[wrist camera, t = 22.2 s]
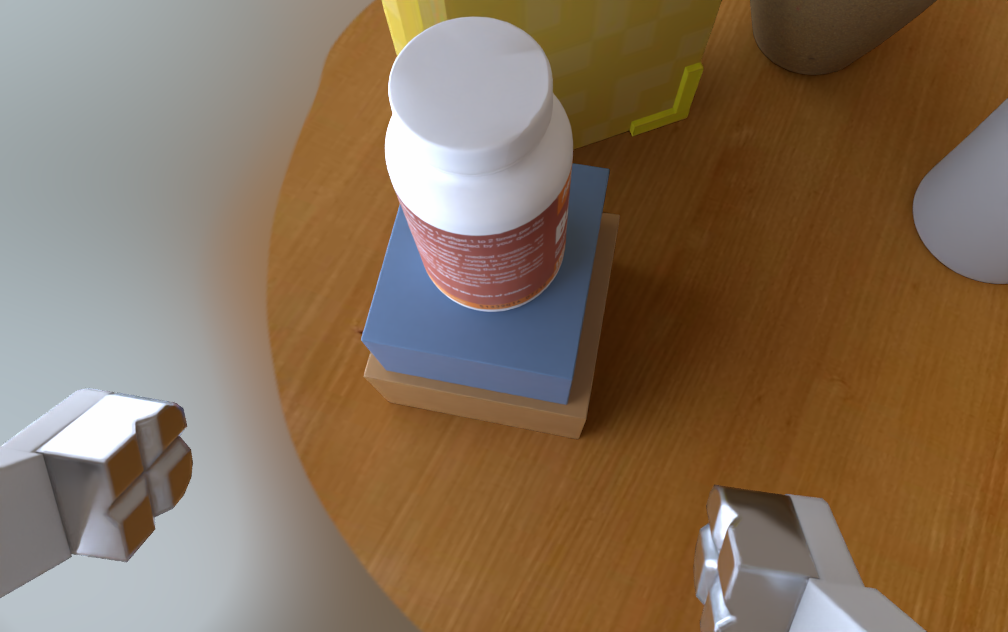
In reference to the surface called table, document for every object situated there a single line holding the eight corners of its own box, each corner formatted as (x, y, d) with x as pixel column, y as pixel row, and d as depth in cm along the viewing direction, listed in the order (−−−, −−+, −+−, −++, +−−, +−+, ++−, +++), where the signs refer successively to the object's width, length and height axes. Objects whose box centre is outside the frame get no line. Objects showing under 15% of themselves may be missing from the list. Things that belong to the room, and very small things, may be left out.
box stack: (578, 439, 37) (595, 396, 27) (388, 402, 38) (334, 347, 28) (608, 261, 41) (633, 162, 30) (433, 231, 42) (400, 126, 31)
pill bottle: (585, 290, 28) (613, 138, 18) (445, 334, 28) (392, 205, 18) (538, 170, 30) (539, -30, 20) (407, 209, 30) (339, 26, 20)
